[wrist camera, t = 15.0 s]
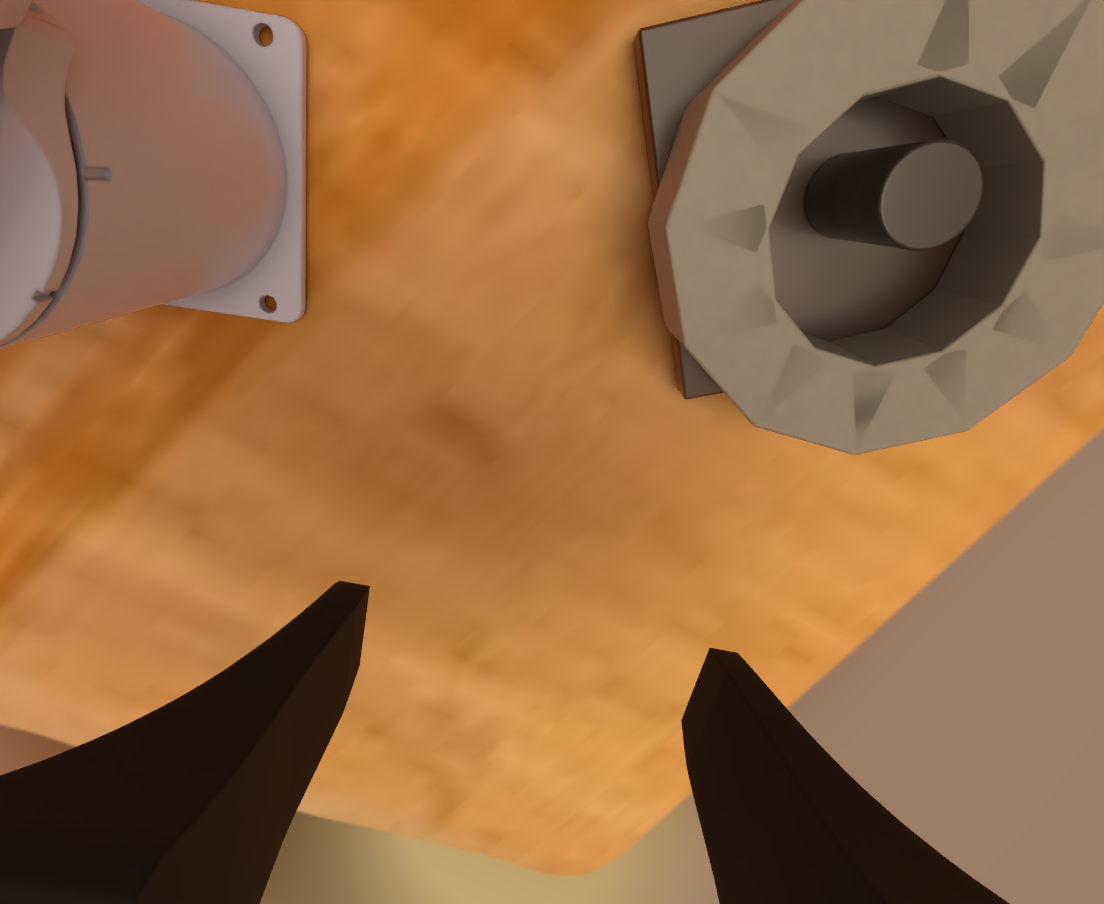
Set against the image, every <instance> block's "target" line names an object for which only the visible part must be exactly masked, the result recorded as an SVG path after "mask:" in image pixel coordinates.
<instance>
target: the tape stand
mask: <svg viewBox="0 0 1104 904" xmlns="http://www.w3.org/2000/svg"><path fill="white" fill-rule="evenodd" d="M794 1H796V0H760V1H756V2H752V3H748V4H743V5H739V6H735V7H730V8H726V9H722V10H718V11H713V12H709V13H705V14H701V15H696V16H692V17H688V18H683V19H679V20H675V21H671V22H666V23H662V24H658V25H653V26H649V27H645V28H641V29H640V30H639V31H638V33H637V35H636V37H635V38H634V42H633V44H634V51H635V59H636V67H637V75H638V83H639V90H640V98H641V106H642V114H643V122H644V129H645V137H646V145H647V153H648V161H649V168H650V176H651V184H652V192H653V200H654V201H655V198H656V195H657V192H658V189H659V186H660V183H661V180H662V177H663V174H664V171H665V168H666V165H667V162H668V159H669V156H670V153H671V150H672V147H673V144H674V141H675V138H676V135H677V132H678V128H679V125H680V122H681V119H682V116H683V113H684V110H685V109H686V107H687V105H688V104H689V103H690V102H691V101H692V100H693V99H694V98H695V97H696V96H697V95H698V94H699V93H700V92H701V91H702V90H703V89H704V88H705V87H706V86H707V85H708V84H709V83H710V82H711V81H712V80H713V79H714V78H715V77H716V76H717V75H718V74H719V73H720V72H721V71H722V70H723V69H724V68H725V67H726V66H727V65H728V64H729V63H730V62H731V61H732V60H733V59H734V58H735V57H736V56H737V55H738V54H739V53H740V52H741V51H742V50H743V49H744V48H745V47H746V46H747V45H748V44H749V43H750V42H751V41H752V40H753V39H754V38H755V37H756V36H757V35H758V34H759V33H760V32H761V31H762V30H763V29H764V28H765V27H766V26H767V25H768V24H769V23H770V22H771V21H772V20H773V19H774V18H775V17H776V16H777V15H778V14H779V13H781V12H782V11H783V10H784V9H786V8H787V7H788V6H789V5H791V4H792V3H793V2H794ZM983 188H984V178H983V172H982V168H981V165H980V163H979V161H978V159H977V158H976V156H975V155H974V154H973V152H972V151H971V150H970V149H968V148H967V147H966V146H964V145H963V144H961V143H959V142H956V141H952V140H948V139H947V137H946V136H945V134H944V133H943V131H942V130H941V128H940V126H939V125H938V123H937V122H936V120H935V119H934V117H932V116H929V115H926V114H923V113H921V112H918V111H915V110H912V109H909V108H907V107H904V106H901V105H898V104H895V103H893V102H890V101H887V100H884V99H881V98H879V97H872V98H868V99H865V100H861V101H857V102H856V103H855V104H854V105H853V106H852V107H851V108H850V109H849V110H848V111H846V112H845V113H844V114H843V115H842V116H841V117H840V118H839V119H838V120H837V121H836V122H834V123H833V124H832V125H831V126H830V127H829V128H828V129H827V130H826V131H825V132H824V133H822V134H821V135H820V136H819V137H818V138H817V139H816V140H815V141H814V142H813V143H812V144H811V145H809V146H808V147H807V148H806V149H805V150H804V151H803V152H802V153H801V154H800V155H799V156H798V158H797V161H796V163H795V166H794V168H793V171H792V173H791V176H790V178H789V181H788V183H787V186H786V188H785V191H784V193H783V195H782V198H781V200H780V203H779V205H778V208H777V210H776V213H775V215H774V218H773V220H772V223H771V225H770V228H769V233H770V243H771V253H772V262H773V272H774V282H775V292H776V299H777V301H778V302H779V303H780V304H781V306H782V307H783V308H784V309H785V311H786V312H787V313H788V314H789V316H790V317H791V318H792V319H793V321H794V322H795V323H796V324H797V326H798V327H799V328H800V329H801V331H802V332H803V333H804V334H806V335H809V336H812V337H816V338H819V339H822V340H825V341H833V340H838V339H842V338H846V337H851V336H855V335H860V334H864V333H868V332H873V331H877V330H881V329H885V328H887V327H888V326H889V325H890V324H892V323H893V322H894V321H895V320H897V319H898V318H899V317H900V316H902V315H903V314H904V313H906V312H907V311H908V310H909V309H911V308H912V307H913V306H914V305H916V304H917V303H918V302H919V301H921V300H922V299H923V298H924V297H926V296H927V295H928V294H929V293H931V292H932V291H933V290H934V289H935V287H936V286H937V284H938V282H939V280H940V278H941V276H942V274H943V272H944V270H945V268H946V266H947V264H948V262H949V260H950V258H951V256H952V254H953V253H954V251H955V249H956V247H957V245H958V243H959V241H960V239H961V237H962V235H963V233H964V229H965V228H966V227H967V225H968V224H969V223H970V222H971V220H972V219H973V217H974V215H975V214H976V212H977V210H978V208H979V205H980V202H981V199H982V195H983ZM670 332H671V331H670ZM671 340H672V348H673V356H674V363H675V371H676V379H677V387H678V389H679V391H680V392H681V394H682V395H683V397H684V399H692V398H697V397H703V396H708V395H713V394H719V393H724V392H723V391H722V389H721V388H720V387H719V386H718V385H717V384H716V383H715V381H714V380H713V379H712V378H711V377H710V376H709V375H708V373H707V372H706V371H705V370H704V369H703V368H702V367H701V365H700V364H699V363H698V362H697V361H696V360H695V359H694V358H693V356H692V355H691V354H690V353H689V352H688V351H687V350H686V348H685V347H684V346H683V345H682V344H681V343H680V342H679V340H678V339H677V338H676V337H675V336H674V335H673V334H672V332H671Z"/></svg>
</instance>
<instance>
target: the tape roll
mask: <svg viewBox="0 0 1104 904" xmlns="http://www.w3.org/2000/svg"><path fill="white" fill-rule="evenodd" d="M872 97H879V98H881V99H884V100H887V101H890V102H893V103H895V104H898V105H901V106H904V107H907V108H909V109H912V110H915V111H918V112H921V113H923V114H926V115H929V116H932V117H934V119H935V120H936V122H937V123H938V125H939V126H940V128H941V130H942V131H943V133H944V134H945V136H946V137H947V139H948V140H952V141H956V142H959V143H961V144H963V145H964V146H966V147H967V148H968V149H970V150H971V151H972V152H973V154H974V155H975V156H976V158H977V159H978V161H979V163H980V165H981V168H982V172H983V178H984V188H983V195H982V199H981V202H980V205H979V208H978V210H977V212H976V214H975V215H974V217H973V219H972V220H971V222H970V223H969V224H968V225H967V227H966V228H965V229H964V233H963V235H962V237H961V239H960V241H959V243H958V245H957V247H956V249H955V251H954V253H953V254H952V256H951V258H950V260H949V262H948V264H947V266H946V268H945V270H944V272H943V274H942V276H941V278H940V280H939V282H938V284H937V286H936V287H935V289H934V290H933V291H932V292H931V293H929V294H928V295H927V296H926V297H924V298H923V299H922V300H921V301H919V302H918V303H917V304H916V305H914V306H913V307H912V308H911V309H909V310H908V311H907V312H906V313H904V314H903V315H902V316H900V317H899V318H898V319H897V320H895V321H894V322H893V323H892V324H890V325H889V326H888V327H887V328H885V329H881V330H877V331H873V332H868V333H864V334H860V335H855V336H851V337H846V338H842V339H838V340H833V341H825V340H822V339H819V338H816V337H812V336H809V335H806V334H804V333H803V332H802V331H801V329H800V328H799V327H798V326H797V324H796V323H795V322H794V321H793V319H792V318H791V317H790V316H789V314H788V313H787V312H786V311H785V309H784V308H783V307H782V306H781V304H780V303H779V302H778V301H777V299H776V292H775V282H774V272H773V262H772V253H771V243H770V233H769V228H770V225H771V223H772V220H773V218H774V215H775V213H776V210H777V208H778V205H779V203H780V200H781V198H782V195H783V193H784V191H785V188H786V186H787V183H788V181H789V178H790V176H791V173H792V171H793V168H794V166H795V163H796V161H797V158H798V156H799V155H800V154H801V153H802V152H803V151H804V150H805V149H806V148H807V147H808V146H809V145H811V144H812V143H813V142H814V141H815V140H816V139H817V138H818V137H819V136H820V135H821V134H822V133H824V132H825V131H826V130H827V129H828V128H829V127H830V126H831V125H832V124H833V123H834V122H836V121H837V120H838V119H839V118H840V117H841V116H842V115H843V114H844V113H845V112H846V111H848V110H849V109H850V108H851V107H852V106H853V105H854V104H855V103H856V102H857V101H861V100H865V99H868V98H872ZM648 228H649V234H650V240H651V246H652V252H653V258H654V263H655V269H656V275H657V281H658V287H659V293H660V298H661V304H662V310H663V316H664V322H665V324H666V326H667V328H668V329H669V330H670V331H671V332H672V334H673V335H674V336H675V337H676V338H677V339H678V340H679V342H680V343H681V344H682V345H683V346H684V347H685V348H686V350H687V351H688V352H689V353H690V354H691V355H692V356H693V358H694V359H695V360H696V361H697V362H698V363H699V364H700V365H701V367H702V368H703V369H704V370H705V371H706V372H707V373H708V375H709V376H710V377H711V378H712V379H713V380H714V381H715V383H716V384H717V385H718V386H719V387H720V388H721V389H722V391H723V392H724V393H725V394H726V395H727V396H728V397H729V398H730V400H731V401H732V402H733V403H734V404H735V405H736V406H737V408H738V409H739V410H740V411H741V412H742V413H743V414H744V416H745V417H746V418H747V419H748V420H749V421H750V422H751V424H753V425H754V426H756V427H759V428H763V429H766V430H770V431H773V432H776V433H780V434H783V435H787V436H790V437H794V438H797V439H801V440H804V441H808V442H811V443H814V444H818V445H821V446H825V447H828V448H832V449H835V450H839V451H842V452H846V453H849V454H861V453H866V452H871V451H875V450H880V449H885V448H890V447H894V446H899V445H904V444H908V443H913V442H918V441H923V440H927V439H932V438H937V437H941V436H946V435H951V434H955V433H960V432H965V431H967V430H969V429H970V428H972V427H973V426H974V425H976V424H977V423H979V422H980V421H981V420H983V419H984V418H986V417H987V416H988V415H990V414H991V413H993V412H994V411H995V410H997V409H998V408H999V407H1001V406H1002V405H1004V404H1005V403H1006V402H1008V401H1009V400H1011V399H1012V398H1013V397H1015V396H1016V395H1018V394H1019V393H1020V392H1022V391H1023V390H1024V389H1026V388H1027V387H1029V386H1030V385H1031V384H1033V383H1034V382H1036V381H1037V380H1038V379H1040V378H1041V377H1043V376H1044V375H1045V374H1047V373H1048V372H1050V371H1051V370H1052V369H1054V368H1055V367H1056V366H1058V365H1059V364H1061V363H1062V362H1063V361H1065V360H1066V359H1068V358H1069V357H1070V356H1071V355H1072V353H1073V352H1074V350H1075V349H1076V347H1077V345H1078V344H1079V342H1080V340H1081V339H1082V337H1083V336H1084V334H1085V332H1086V331H1087V329H1088V328H1089V326H1090V324H1091V323H1092V321H1093V320H1094V318H1095V316H1096V315H1097V313H1098V311H1099V310H1100V308H1101V307H1102V305H1103V303H1104V0H796V1H794V2H793V3H792V4H791V5H789V6H788V7H787V8H786V9H784V10H783V11H782V12H781V13H779V14H778V15H777V16H776V17H775V18H774V19H773V20H772V21H771V22H770V23H769V24H768V25H767V26H766V27H765V28H764V29H763V30H762V31H761V32H760V33H759V34H758V35H757V36H756V37H755V38H754V39H753V40H752V41H751V42H750V43H749V44H748V45H747V46H746V47H745V48H744V49H743V50H742V51H741V52H740V53H739V54H738V55H737V56H736V57H735V58H734V59H733V60H732V61H731V62H730V63H729V64H728V65H727V66H726V67H725V68H724V69H723V70H722V71H721V72H720V73H719V74H718V75H717V76H716V77H715V78H714V79H713V80H712V81H711V82H710V83H709V84H708V85H707V86H706V87H705V88H704V89H703V90H702V91H701V92H700V93H699V94H698V95H697V96H696V97H695V98H694V99H693V100H692V101H691V102H690V103H689V104H688V105H687V107H686V109H685V110H684V113H683V116H682V119H681V122H680V125H679V128H678V132H677V135H676V138H675V141H674V144H673V147H672V150H671V153H670V156H669V159H668V162H667V165H666V168H665V171H664V174H663V177H662V180H661V183H660V186H659V189H658V192H657V195H656V198H655V201H654V204H653V207H652V210H651V213H650V216H649V219H648Z"/></svg>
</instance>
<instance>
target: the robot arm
mask: <svg viewBox="0 0 1104 904" xmlns="http://www.w3.org/2000/svg"><path fill="white" fill-rule="evenodd" d="M264 27H270V29H271V30H272V33H273V41H272V43H271V44H270V45H269V46H266V47H263V45H262V44H261V42H260V38H259V35H260V31H261V30H262V29H263V28H264ZM306 67H307V44H306V38H305V35H304V33H303V31H302V29H301V28H300V27H299V26H298V25H297V24H296V23H295V22H294V21H292V20H291V19H288V18H286V17H283V16H278V15H273V14H267V13H262V12H256V11H250V10H245V9H239V8H233V7H228V6H222V5H217V4H211V3H205V2H200V1H194V0H0V349H2V348H6V347H10V346H13V345H17V344H20V343H24V342H28V341H31V340H35V339H38V338H42V337H46V336H49V335H53V334H56V333H60V332H64V331H67V330H71V329H74V328H78V327H82V326H85V325H89V324H92V323H96V322H100V321H103V320H107V319H110V318H114V317H118V316H121V315H125V314H128V313H132V312H136V311H139V310H143V309H146V308H150V307H154V306H157V305H161V304H164V305H171V306H177V307H184V308H190V309H197V310H204V311H210V312H217V313H224V314H230V315H237V316H244V317H250V318H257V319H264V320H270V321H277V322H284V323H291V322H294V321H296V320H298V319H300V318H301V317H302V316H303V314H304V312H305V307H306ZM267 295H269V296H271V297H273V298H274V300H275V301H276V304H277V307H276V310H275V311H273V310H270V309H269V308H268V307H267V306H266V304H265V297H266V296H267ZM369 589H370V586H366V585H360V584H355V583H349V582H344V581H339V582H337V583H335V584H334V585H333V586H331V587H330V588H329V589H328V590H327V591H326V592H325V593H324V594H322V595H321V596H320V597H319V598H318V599H317V600H316V601H315V602H313V603H312V604H311V605H310V606H309V607H308V608H306V609H305V610H304V611H303V612H302V613H300V614H299V615H298V616H297V617H296V618H294V619H293V620H292V621H291V622H289V623H288V624H287V625H285V626H284V627H283V628H282V629H280V630H279V631H278V632H277V633H275V634H274V635H273V636H271V637H270V638H269V639H268V640H266V641H265V642H264V643H262V644H261V645H259V646H258V647H257V648H255V649H254V650H252V651H251V652H250V653H248V654H247V655H245V656H244V657H242V658H241V659H240V660H238V661H237V662H235V663H234V664H233V665H231V666H230V667H228V668H227V669H225V670H224V671H222V672H220V673H219V674H217V675H216V676H214V677H213V678H211V679H209V680H208V681H206V682H205V683H203V684H201V685H200V686H198V687H196V688H195V689H193V690H191V691H190V692H188V693H186V694H184V695H183V696H181V697H179V698H177V699H176V700H174V701H172V702H170V703H168V704H166V705H164V706H163V707H161V708H159V709H157V710H155V711H153V712H151V713H149V714H147V715H145V716H143V717H141V718H139V719H137V720H135V721H133V722H131V723H129V724H127V725H125V726H123V727H121V728H119V729H117V730H114V731H112V732H110V733H108V734H105V735H103V736H101V737H99V738H96V739H94V740H92V741H90V742H87V743H85V744H82V745H80V746H77V747H75V748H73V749H70V750H68V751H65V752H63V753H61V754H58V755H56V756H53V757H50V758H48V759H45V760H43V761H41V762H38V763H35V764H32V765H30V766H26V767H24V768H21V769H18V770H15V771H12V772H9V773H6V774H4V775H1V776H0V904H260V901H261V898H262V896H263V893H264V890H265V888H266V885H267V882H268V880H269V877H270V874H271V872H272V869H273V866H274V864H275V861H276V858H277V855H278V853H279V850H280V848H281V845H282V842H283V840H284V837H285V835H286V833H287V830H288V828H289V826H290V823H291V821H292V819H293V817H294V815H295V812H296V810H297V808H298V806H299V804H300V802H301V800H302V798H303V796H304V794H305V792H306V790H307V787H308V785H309V783H310V781H311V779H312V777H313V775H314V773H315V771H316V769H317V767H318V765H319V762H320V760H321V758H322V756H323V754H324V752H325V750H326V748H327V746H328V744H329V742H330V739H331V737H332V735H333V733H334V731H335V729H336V727H337V725H338V723H339V720H340V718H341V716H342V714H343V712H344V709H345V706H346V703H347V701H348V698H349V695H350V692H351V689H352V686H353V683H354V680H355V677H356V674H357V671H358V668H359V665H360V658H361V650H362V643H363V635H364V627H365V620H366V612H367V604H368V596H369ZM682 730H683V740H684V749H685V757H686V764H687V770H688V775H689V779H690V783H691V787H692V791H693V796H694V799H695V804H696V808H697V812H698V816H699V820H700V824H701V828H702V832H703V836H704V839H705V843H706V848H707V851H708V855H709V859H710V863H711V868H712V871H713V875H714V879H715V884H716V889H717V893H718V898H719V903H720V904H1009V903H1007V902H1006V901H1005V900H1003V899H1002V898H1000V897H999V896H998V895H996V894H995V893H993V892H992V891H991V890H989V889H988V888H986V887H985V886H983V885H982V884H980V883H979V882H978V881H976V880H975V879H973V878H972V877H971V876H969V875H968V874H966V873H965V872H964V871H962V870H961V869H960V868H958V867H957V866H956V865H954V864H953V863H952V862H950V861H949V860H948V859H946V858H945V857H944V856H942V855H941V854H940V853H939V852H937V851H936V850H935V849H934V848H933V847H931V846H930V845H929V844H928V843H926V842H925V841H924V840H922V839H921V838H920V837H919V836H917V835H916V834H915V833H914V832H912V831H911V830H910V829H909V828H908V827H906V826H905V825H904V824H903V823H902V822H900V821H899V820H898V819H897V818H896V817H895V816H893V815H892V814H891V813H890V812H889V811H888V810H887V809H885V808H884V807H883V806H882V805H881V804H880V803H879V802H878V801H877V800H876V799H874V798H873V797H872V796H871V795H870V794H869V793H868V792H867V791H865V790H864V789H863V788H862V787H861V786H860V785H859V784H858V783H857V782H856V781H855V780H854V779H853V778H852V777H851V776H850V775H849V774H848V773H847V772H846V771H844V769H842V767H841V766H840V765H839V764H838V763H837V762H836V761H835V760H834V759H833V758H832V757H831V756H830V755H829V754H828V753H827V752H826V751H825V750H824V749H823V748H822V747H821V746H820V745H819V744H818V743H817V742H816V740H815V739H814V738H813V737H812V736H811V735H810V734H809V733H808V732H807V731H806V730H805V729H804V727H803V726H802V725H801V724H800V723H799V722H798V721H797V720H796V719H795V718H794V716H793V715H792V714H791V713H790V712H789V711H788V710H787V708H786V707H785V706H784V705H783V704H782V703H781V702H780V700H779V699H778V698H777V697H776V696H775V695H774V693H773V692H772V691H771V690H770V689H769V688H768V687H767V685H766V684H765V683H764V682H763V681H762V680H761V678H760V677H759V676H758V675H757V674H756V673H755V672H754V670H753V669H752V668H751V667H750V666H749V665H748V664H747V663H746V661H745V660H744V659H743V658H742V657H741V656H740V655H739V654H738V653H735V652H730V651H724V650H719V649H713V648H709V651H708V654H707V656H706V659H705V661H704V664H703V666H702V669H701V672H700V674H699V677H698V679H697V682H696V684H695V687H694V689H693V692H692V695H691V697H690V700H689V702H688V705H687V707H686V710H685V713H684V715H683V718H682Z"/></svg>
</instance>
